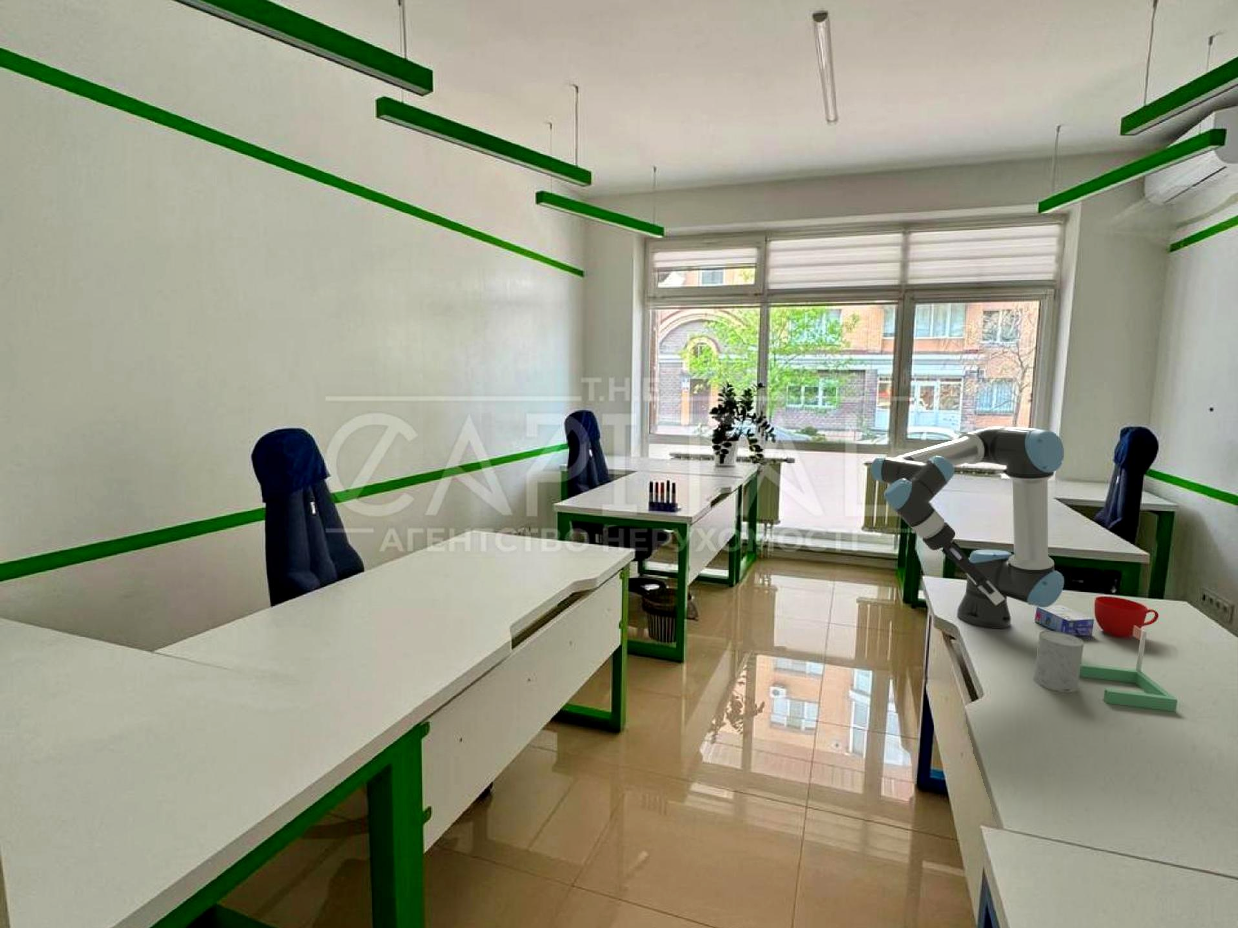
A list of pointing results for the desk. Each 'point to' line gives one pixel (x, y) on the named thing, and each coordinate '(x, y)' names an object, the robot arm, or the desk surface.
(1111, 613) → the ceramic cup
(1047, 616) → the ink cartridge box
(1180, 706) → the desk surface
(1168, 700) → the green angular frame
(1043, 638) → the speckled concrete drum
